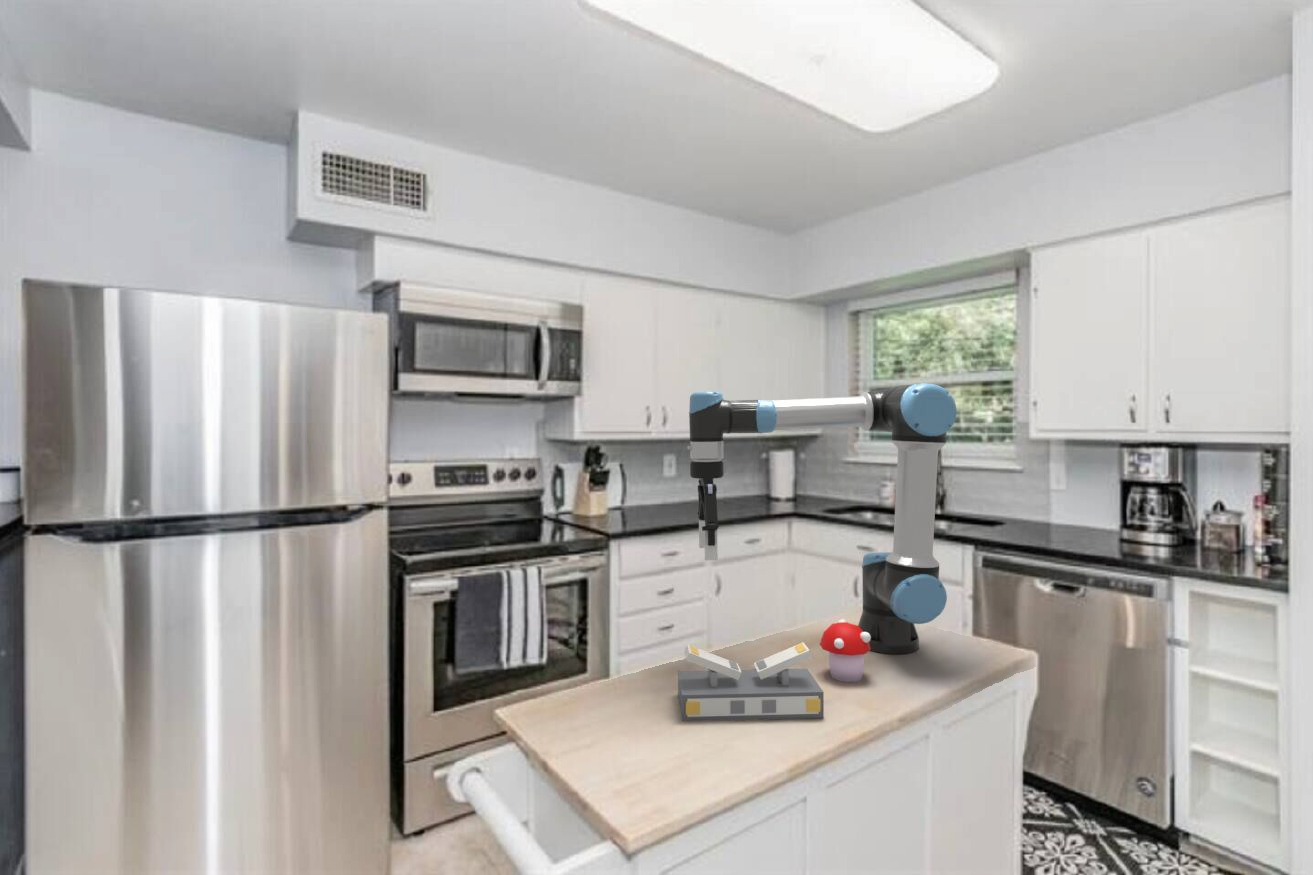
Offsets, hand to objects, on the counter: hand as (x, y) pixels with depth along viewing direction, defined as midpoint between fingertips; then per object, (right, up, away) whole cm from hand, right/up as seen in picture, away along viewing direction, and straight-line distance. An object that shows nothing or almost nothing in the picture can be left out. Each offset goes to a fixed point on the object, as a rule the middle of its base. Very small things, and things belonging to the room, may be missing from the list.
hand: (708, 553), depth 151 cm
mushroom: (+30, -27, -4) cm, 40 cm away
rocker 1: (-1, -18, -19) cm, 26 cm away
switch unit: (+6, -27, -19) cm, 33 cm away
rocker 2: (+13, -18, -19) cm, 29 cm away
